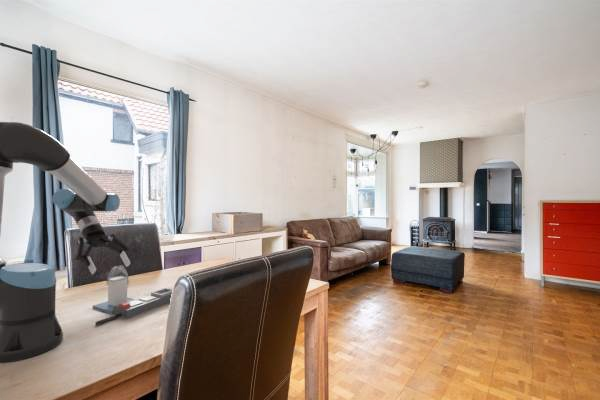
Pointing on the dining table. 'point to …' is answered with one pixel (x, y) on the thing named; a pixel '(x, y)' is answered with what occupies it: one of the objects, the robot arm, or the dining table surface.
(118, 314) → the power strip
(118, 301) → the block
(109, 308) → the mat
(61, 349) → the dining table surface
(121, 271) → the stone
